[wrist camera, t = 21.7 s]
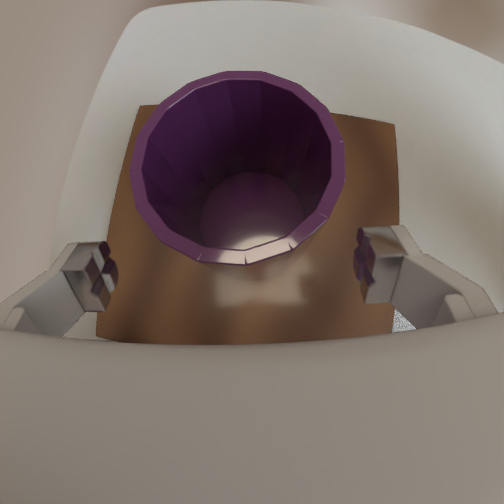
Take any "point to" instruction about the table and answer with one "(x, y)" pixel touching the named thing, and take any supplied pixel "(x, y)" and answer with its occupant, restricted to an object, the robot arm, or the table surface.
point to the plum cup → (239, 172)
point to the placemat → (265, 291)
